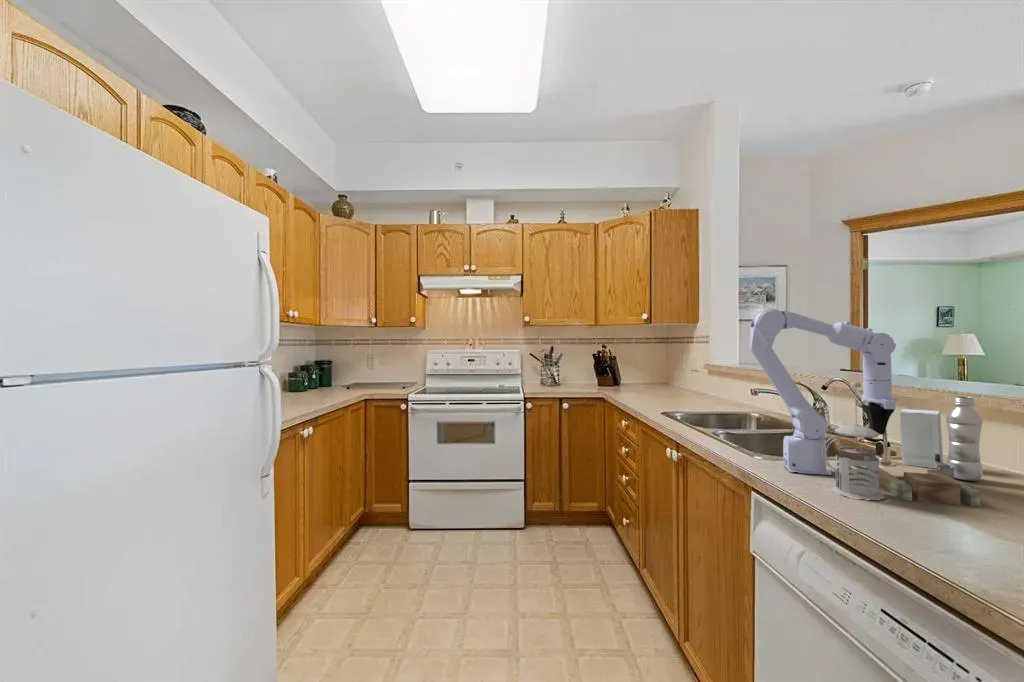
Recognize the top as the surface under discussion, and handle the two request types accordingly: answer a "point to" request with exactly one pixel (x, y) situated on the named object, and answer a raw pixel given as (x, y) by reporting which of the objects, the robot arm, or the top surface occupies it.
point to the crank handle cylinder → (944, 467)
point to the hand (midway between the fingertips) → (878, 433)
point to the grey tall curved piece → (856, 463)
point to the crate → (933, 487)
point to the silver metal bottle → (964, 439)
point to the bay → (905, 491)
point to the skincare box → (920, 437)
